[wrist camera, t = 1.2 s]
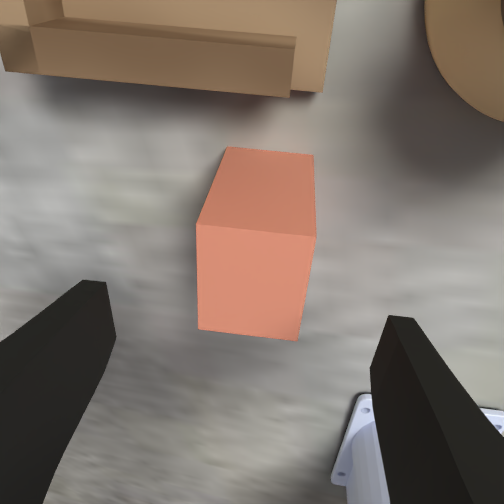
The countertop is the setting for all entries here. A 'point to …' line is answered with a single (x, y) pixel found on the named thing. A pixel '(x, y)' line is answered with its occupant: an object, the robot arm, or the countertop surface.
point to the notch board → (173, 42)
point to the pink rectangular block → (256, 244)
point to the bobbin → (469, 50)
